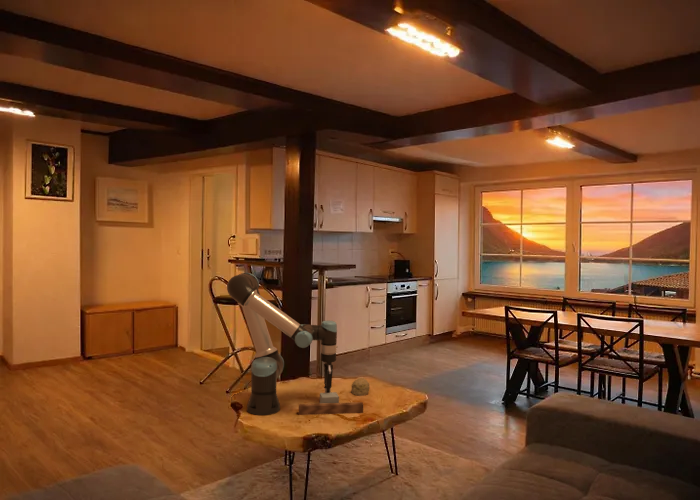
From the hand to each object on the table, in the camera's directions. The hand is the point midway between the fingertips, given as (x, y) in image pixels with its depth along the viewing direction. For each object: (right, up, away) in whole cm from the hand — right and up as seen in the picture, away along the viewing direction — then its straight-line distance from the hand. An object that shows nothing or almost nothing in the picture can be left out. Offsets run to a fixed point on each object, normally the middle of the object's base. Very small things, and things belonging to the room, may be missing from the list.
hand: (327, 400), depth 262 cm
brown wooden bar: (+2, -2, -13) cm, 13 cm away
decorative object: (+16, -1, +17) cm, 24 cm away
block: (+1, -2, -6) cm, 6 cm away
